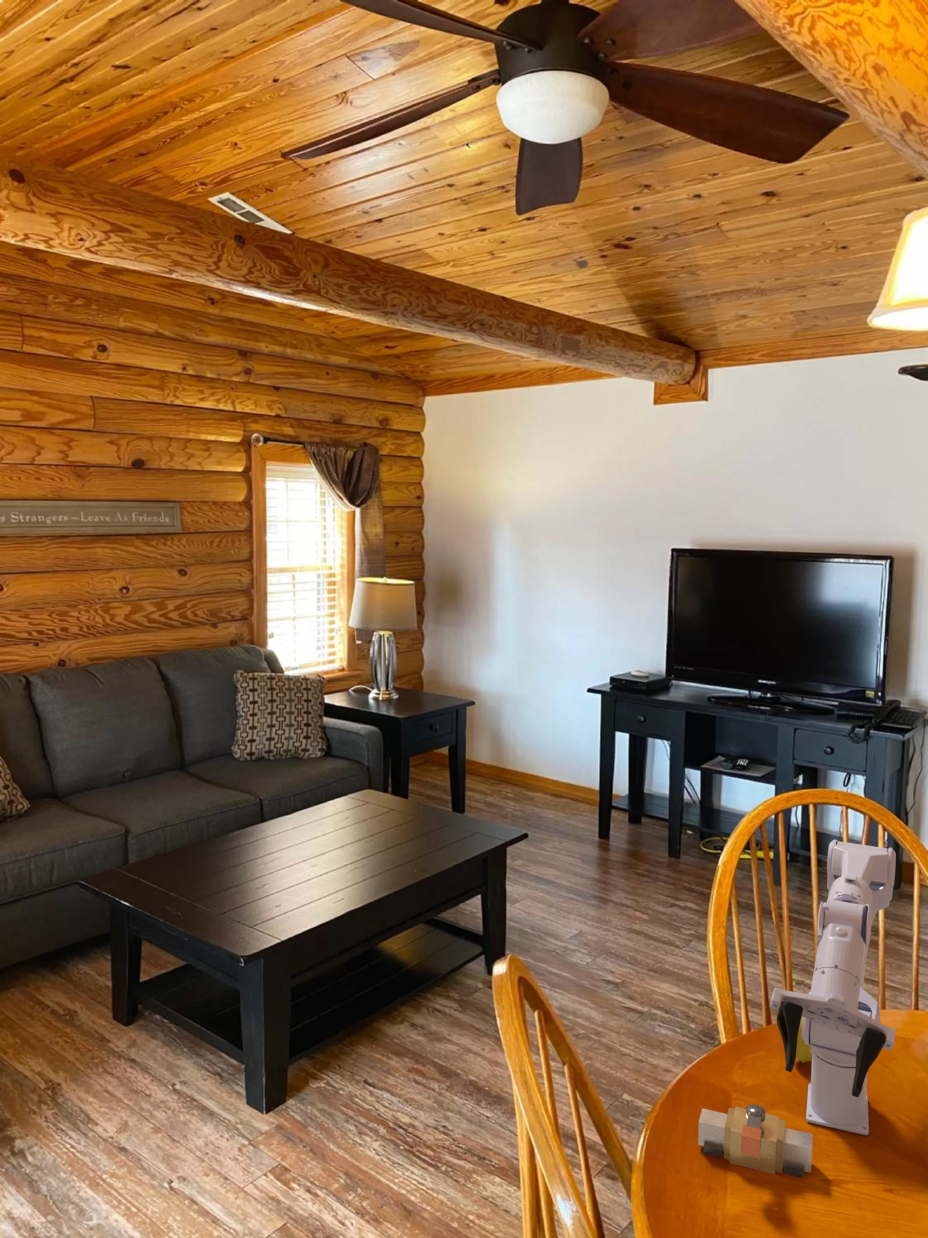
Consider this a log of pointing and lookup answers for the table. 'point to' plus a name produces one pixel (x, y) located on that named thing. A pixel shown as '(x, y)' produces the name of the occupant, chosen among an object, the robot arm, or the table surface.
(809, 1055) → the lemon
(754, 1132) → the lever
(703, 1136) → the valve
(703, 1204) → the table surface
